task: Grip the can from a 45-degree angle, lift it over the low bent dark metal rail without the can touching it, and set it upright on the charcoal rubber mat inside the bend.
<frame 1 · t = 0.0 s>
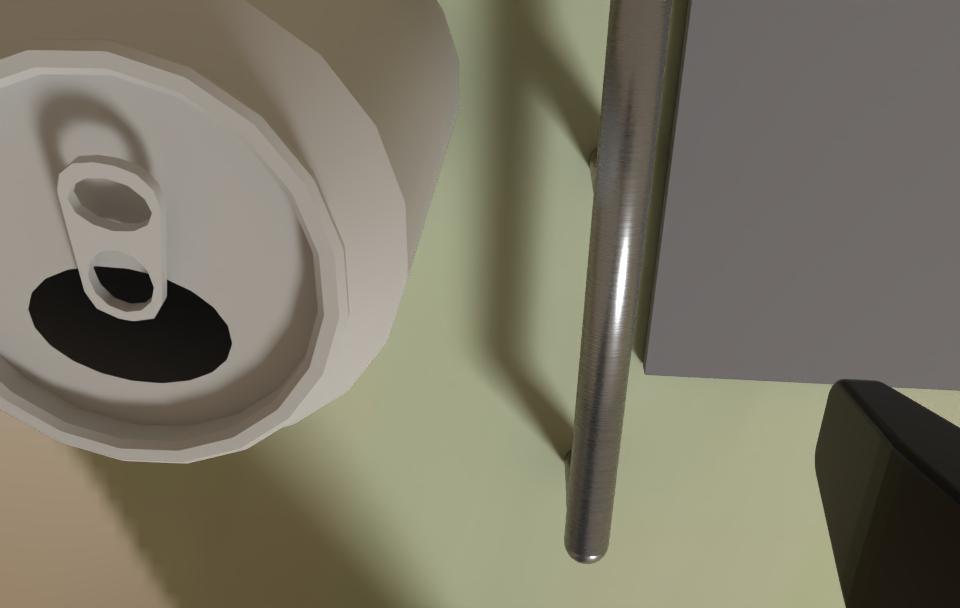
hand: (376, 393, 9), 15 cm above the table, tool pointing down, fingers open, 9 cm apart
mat: (917, 135, 22), on the table
can: (315, 70, 23), on the table
rail: (608, 161, 23), resting in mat
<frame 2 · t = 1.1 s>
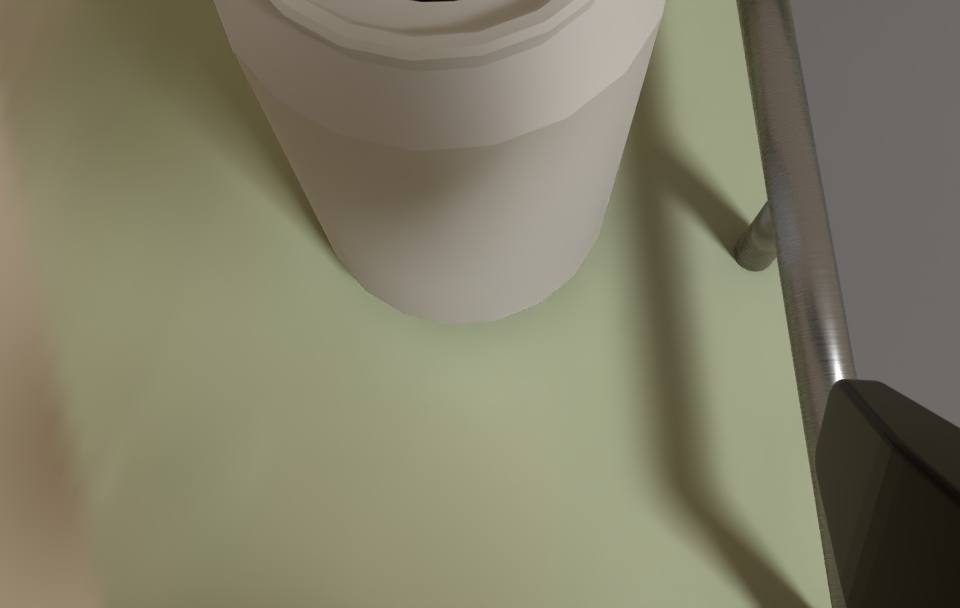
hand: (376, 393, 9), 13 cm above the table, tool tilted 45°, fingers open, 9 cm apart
can: (464, 202, 24), on the table
rail: (753, 253, 24), resting in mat
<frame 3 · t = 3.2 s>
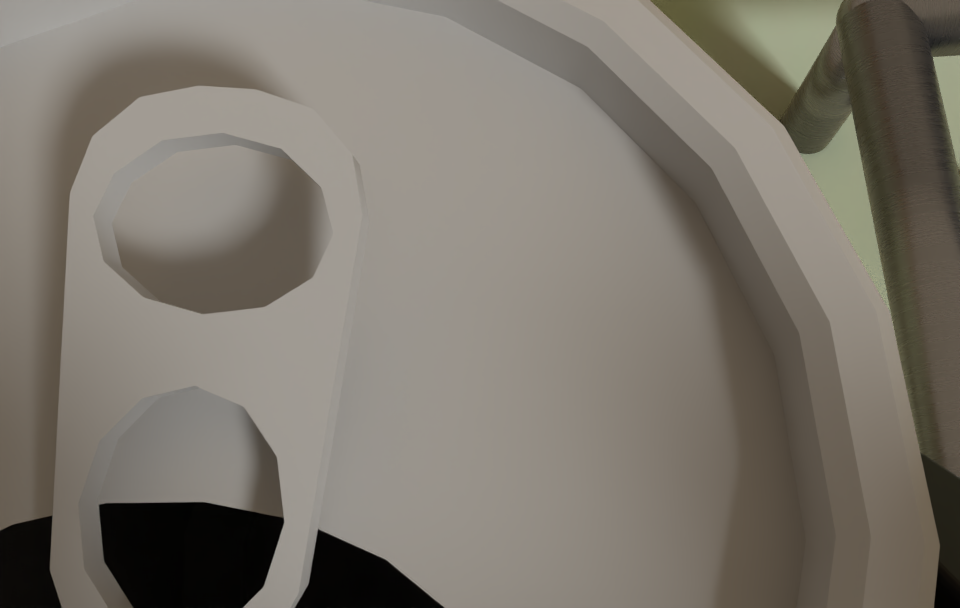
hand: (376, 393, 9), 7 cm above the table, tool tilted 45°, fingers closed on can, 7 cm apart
can: (424, 558, 15), on the table, touching gripper
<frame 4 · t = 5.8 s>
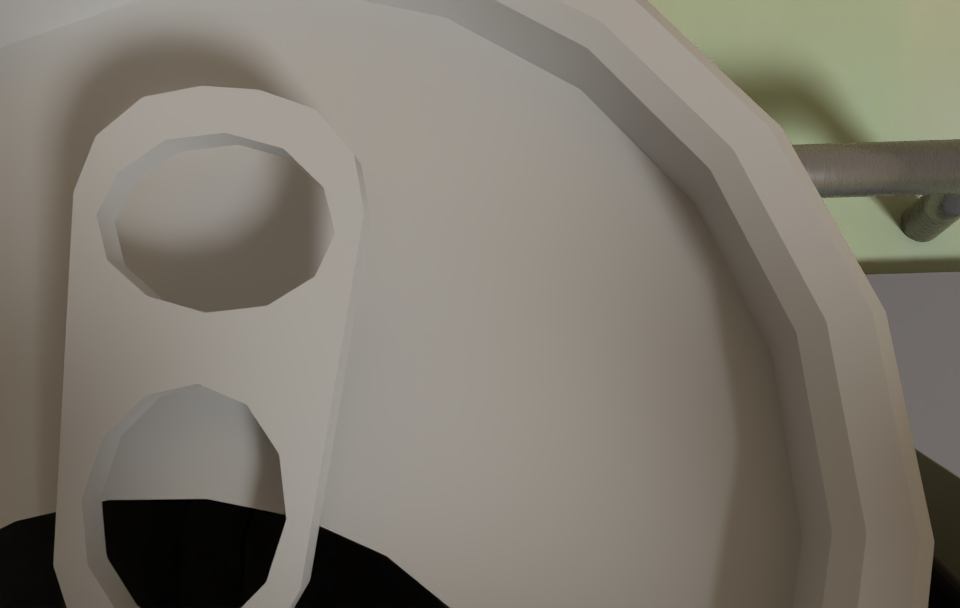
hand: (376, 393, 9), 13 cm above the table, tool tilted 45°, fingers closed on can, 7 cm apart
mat: (785, 568, 21), on the table
can: (421, 556, 15), point 6 cm above the table, touching gripper
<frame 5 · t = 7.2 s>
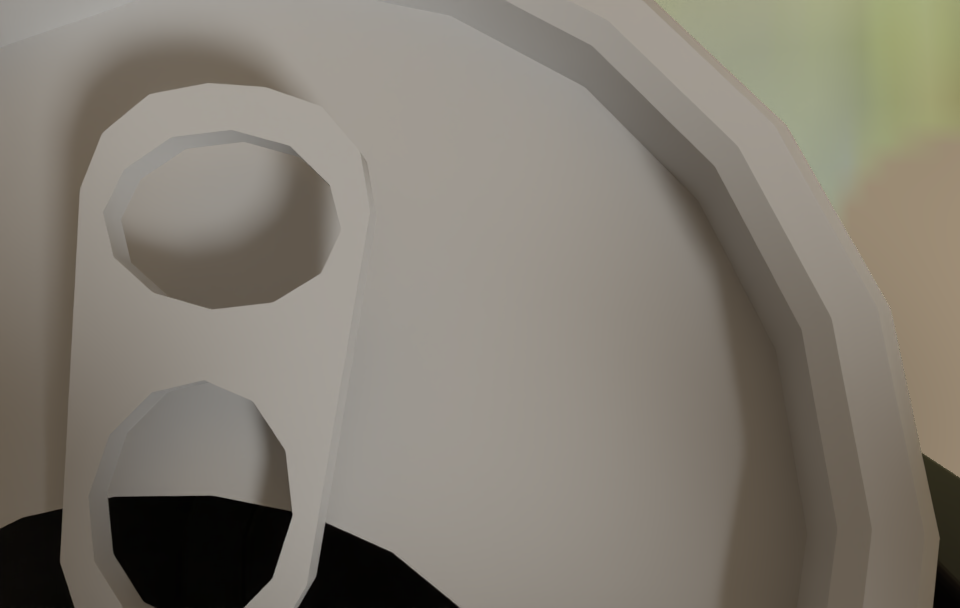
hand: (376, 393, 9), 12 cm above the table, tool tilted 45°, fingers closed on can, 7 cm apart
can: (422, 556, 15), point 5 cm above the table, touching gripper
when the fingers open (8 cm above the table, at t = 8.4 s): can drops 1 cm, resting on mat.
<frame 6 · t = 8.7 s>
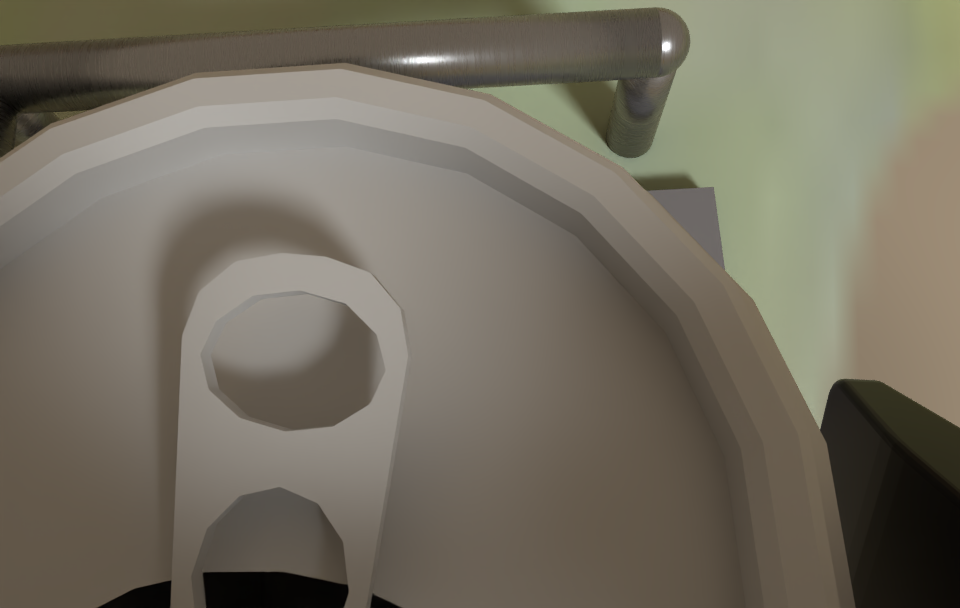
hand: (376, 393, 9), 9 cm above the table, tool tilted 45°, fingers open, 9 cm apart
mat: (432, 558, 17), on the table
can: (428, 569, 16), resting on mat
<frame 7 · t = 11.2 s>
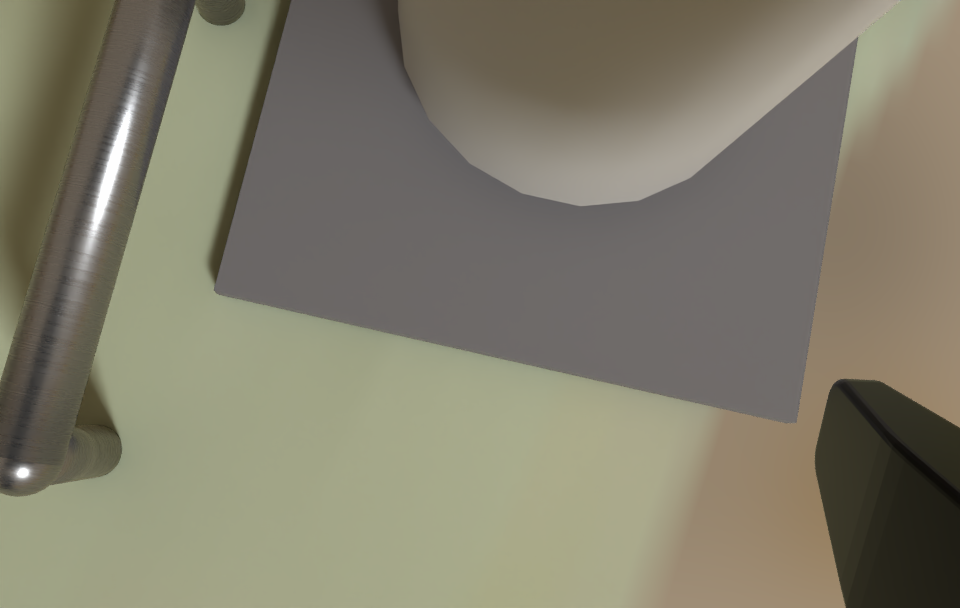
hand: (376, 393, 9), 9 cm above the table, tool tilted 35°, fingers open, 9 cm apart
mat: (575, 46, 20), on the table
can: (573, 47, 19), resting on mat
rail: (221, 2, 19), resting in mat
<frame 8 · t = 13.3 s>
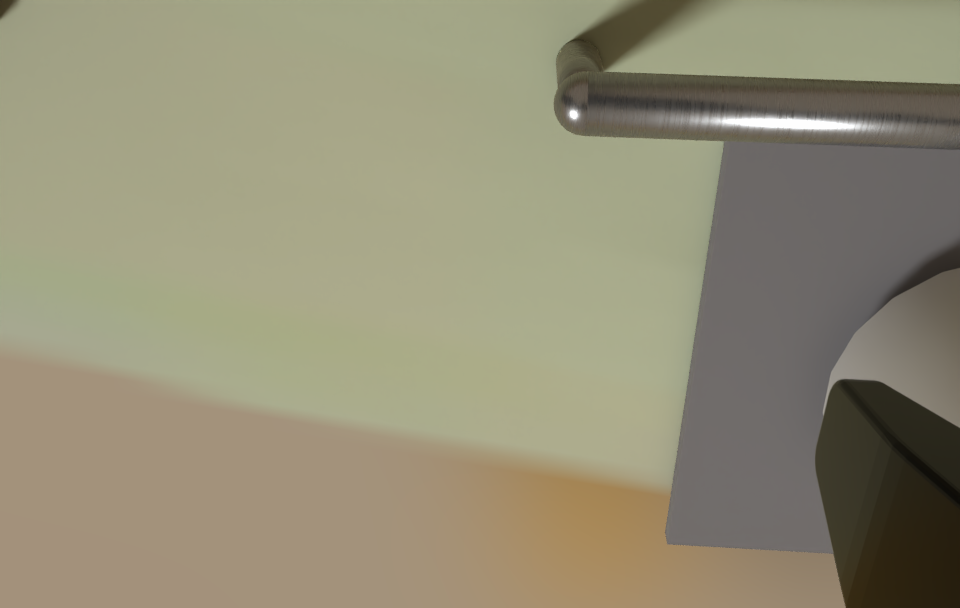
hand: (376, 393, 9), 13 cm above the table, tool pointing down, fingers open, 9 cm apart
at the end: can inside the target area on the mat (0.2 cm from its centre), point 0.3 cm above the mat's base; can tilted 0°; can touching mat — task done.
